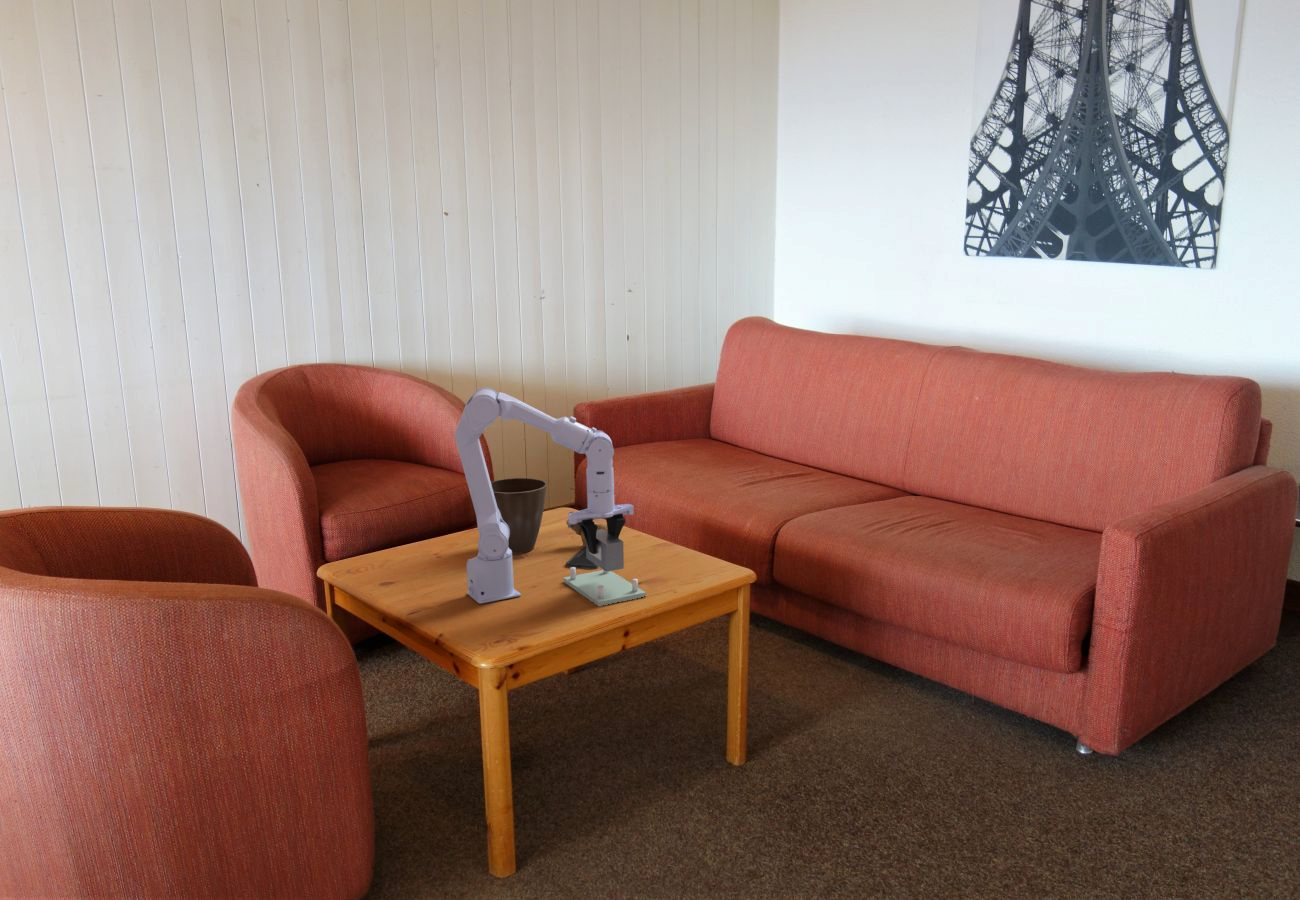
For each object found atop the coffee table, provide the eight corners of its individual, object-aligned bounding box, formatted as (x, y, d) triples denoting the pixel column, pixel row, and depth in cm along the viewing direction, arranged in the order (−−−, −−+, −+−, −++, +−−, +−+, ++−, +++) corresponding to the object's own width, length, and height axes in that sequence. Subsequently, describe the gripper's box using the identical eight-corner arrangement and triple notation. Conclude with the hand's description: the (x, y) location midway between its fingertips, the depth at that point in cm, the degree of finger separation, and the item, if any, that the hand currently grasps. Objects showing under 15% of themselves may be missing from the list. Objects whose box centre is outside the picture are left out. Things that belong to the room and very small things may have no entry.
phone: (617, 547, 266) (596, 566, 252) (617, 551, 266) (596, 570, 252) (586, 544, 268) (563, 563, 254) (586, 549, 268) (564, 568, 254)
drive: (606, 571, 232) (605, 544, 230) (586, 558, 240) (585, 531, 239) (624, 568, 233) (623, 541, 232) (603, 555, 242) (602, 528, 241)
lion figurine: (563, 548, 268) (562, 512, 266) (574, 542, 273) (573, 507, 271) (618, 555, 262) (616, 518, 260) (628, 548, 267) (627, 512, 265)
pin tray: (599, 606, 229) (598, 590, 228) (563, 581, 244) (562, 566, 243) (645, 596, 234) (645, 581, 233) (608, 573, 249) (607, 558, 248)
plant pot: (478, 545, 272) (474, 482, 268) (535, 536, 278) (532, 474, 275) (500, 562, 259) (496, 496, 255) (558, 551, 266) (556, 487, 262)
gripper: (577, 498, 227) (579, 561, 230) (639, 488, 234) (641, 550, 237) (563, 491, 233) (565, 552, 236) (624, 481, 240) (626, 541, 243)
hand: (602, 551), depth 237 cm, fingers closed on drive, 4 cm apart
